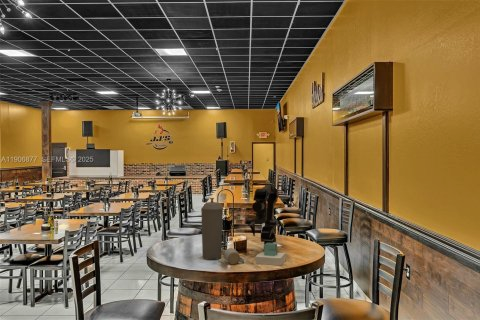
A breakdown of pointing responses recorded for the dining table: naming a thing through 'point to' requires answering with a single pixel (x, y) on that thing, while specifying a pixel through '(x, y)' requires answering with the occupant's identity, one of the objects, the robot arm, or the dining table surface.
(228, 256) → the ceramic mug
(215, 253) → the canister
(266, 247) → the teal block
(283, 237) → the dining table surface
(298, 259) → the dining table surface
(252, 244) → the dining table surface
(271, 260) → the grey base
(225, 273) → the dining table surface
